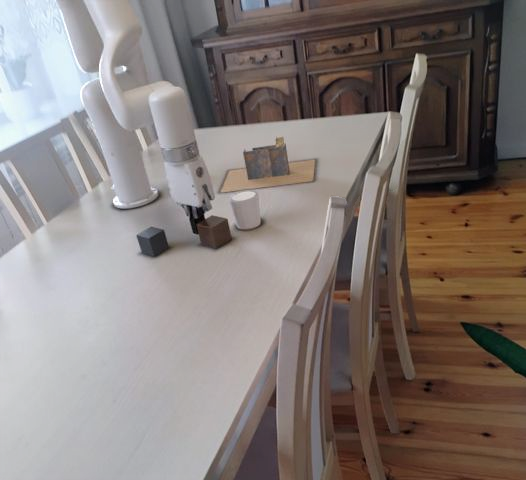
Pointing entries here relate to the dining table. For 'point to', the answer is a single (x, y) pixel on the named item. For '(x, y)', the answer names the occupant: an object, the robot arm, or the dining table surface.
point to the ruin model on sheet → (268, 169)
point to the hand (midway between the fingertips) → (200, 231)
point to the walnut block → (214, 231)
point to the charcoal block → (152, 241)
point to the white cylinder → (246, 209)
